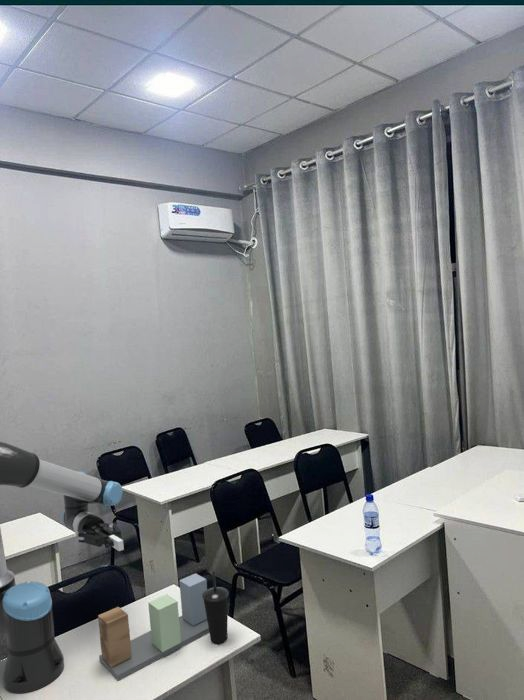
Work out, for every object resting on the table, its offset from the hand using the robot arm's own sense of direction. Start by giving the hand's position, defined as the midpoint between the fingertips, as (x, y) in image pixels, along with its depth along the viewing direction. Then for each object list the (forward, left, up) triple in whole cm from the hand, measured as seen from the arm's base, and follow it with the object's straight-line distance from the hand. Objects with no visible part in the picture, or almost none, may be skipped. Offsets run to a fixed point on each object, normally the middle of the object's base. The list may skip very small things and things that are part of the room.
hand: (121, 545), depth 149 cm
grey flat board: (+5, +7, -30) cm, 31 cm away
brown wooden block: (+4, -6, -28) cm, 29 cm away
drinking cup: (+16, +20, -30) cm, 40 cm away
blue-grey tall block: (+4, +20, -28) cm, 35 cm away
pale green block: (+9, +7, -28) cm, 30 cm away
